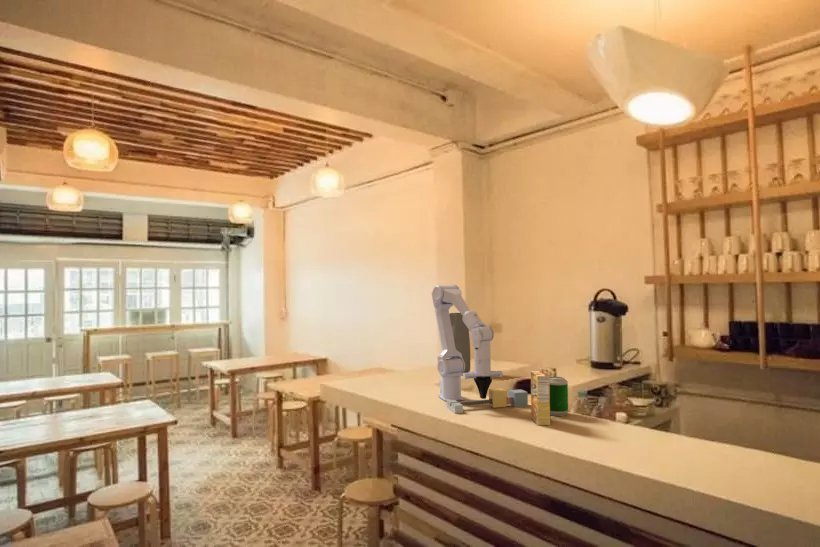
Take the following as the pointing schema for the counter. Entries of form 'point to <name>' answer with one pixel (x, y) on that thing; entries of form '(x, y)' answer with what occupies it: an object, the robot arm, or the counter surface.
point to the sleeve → (498, 397)
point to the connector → (518, 398)
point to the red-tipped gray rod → (480, 402)
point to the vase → (461, 338)
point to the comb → (454, 406)
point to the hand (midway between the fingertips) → (483, 398)
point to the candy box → (540, 397)
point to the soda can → (558, 396)
